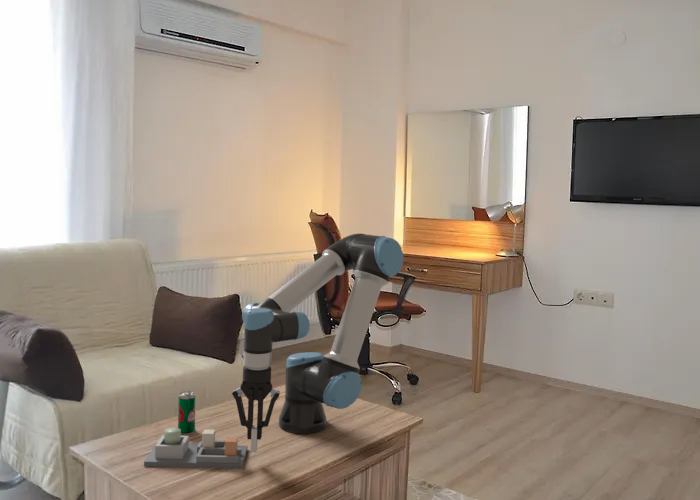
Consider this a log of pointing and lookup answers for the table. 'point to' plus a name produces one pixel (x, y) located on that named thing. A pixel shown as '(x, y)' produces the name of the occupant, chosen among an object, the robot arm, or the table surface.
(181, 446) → the panel
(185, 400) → the soda can
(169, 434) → the button
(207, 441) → the knob cream
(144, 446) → the table surface
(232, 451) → the knob terracotta
